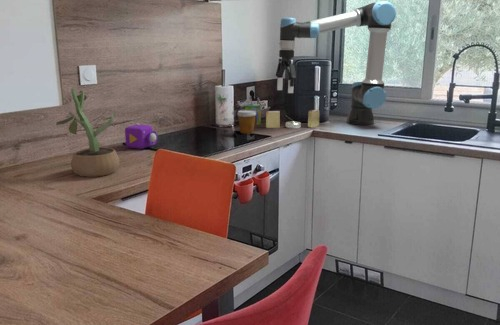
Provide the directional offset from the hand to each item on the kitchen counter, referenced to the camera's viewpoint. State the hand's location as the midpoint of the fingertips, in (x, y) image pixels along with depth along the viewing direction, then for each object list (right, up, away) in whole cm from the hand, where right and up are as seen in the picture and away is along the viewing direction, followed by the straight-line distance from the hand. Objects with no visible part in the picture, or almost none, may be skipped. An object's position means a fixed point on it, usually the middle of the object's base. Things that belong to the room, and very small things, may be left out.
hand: (285, 91), depth 246 cm
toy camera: (-66, -30, -34) cm, 80 cm away
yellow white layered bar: (+16, -18, +6) cm, 24 cm away
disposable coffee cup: (-20, -23, -8) cm, 32 cm away
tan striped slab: (-6, -18, +4) cm, 20 cm away
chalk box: (-17, -16, +17) cm, 29 cm away
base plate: (+5, -19, +6) cm, 21 cm away
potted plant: (-77, -40, -71) cm, 112 cm away
